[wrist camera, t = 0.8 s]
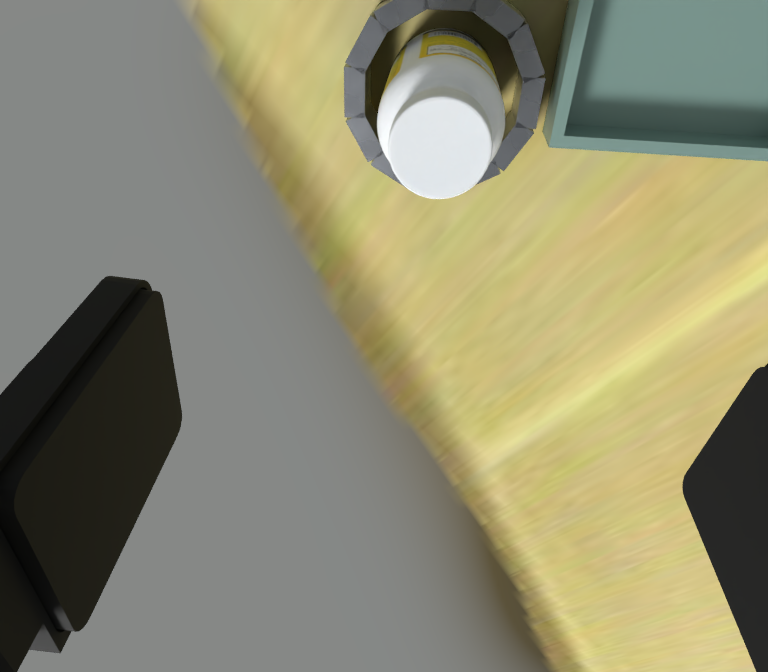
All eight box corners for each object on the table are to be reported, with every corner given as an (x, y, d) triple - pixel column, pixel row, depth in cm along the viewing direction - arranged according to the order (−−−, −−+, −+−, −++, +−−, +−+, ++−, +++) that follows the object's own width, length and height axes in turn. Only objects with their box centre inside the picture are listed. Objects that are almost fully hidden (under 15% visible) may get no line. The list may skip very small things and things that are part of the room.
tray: (915, -162, 22) (960, -168, 20) (776, 145, 29) (800, 163, 27) (602, -171, 23) (616, -178, 21) (542, 131, 30) (548, 147, 28)
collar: (554, -18, 26) (562, -12, 24) (518, 179, 32) (522, 197, 30) (351, -27, 27) (343, -22, 25) (352, 168, 32) (345, 185, 30)
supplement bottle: (419, 155, 32) (407, 236, 24) (370, 61, 29) (340, 118, 21) (511, 108, 30) (532, 180, 22) (469, 3, 27) (475, 42, 19)
